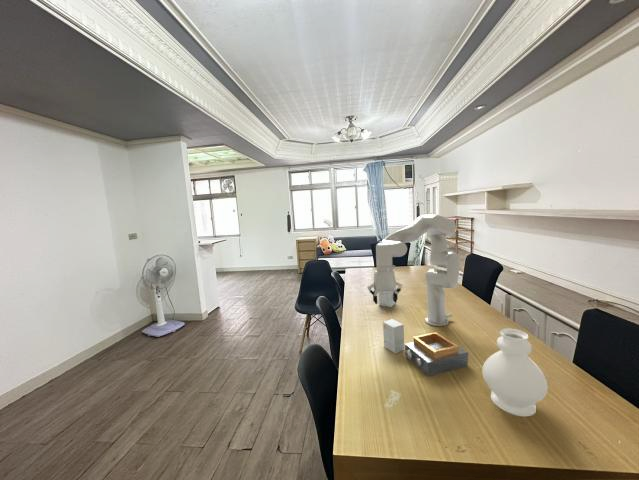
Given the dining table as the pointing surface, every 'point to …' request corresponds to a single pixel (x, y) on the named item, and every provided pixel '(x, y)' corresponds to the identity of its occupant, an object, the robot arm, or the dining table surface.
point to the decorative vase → (514, 375)
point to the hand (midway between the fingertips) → (385, 302)
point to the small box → (393, 335)
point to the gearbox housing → (435, 354)
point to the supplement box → (386, 299)
